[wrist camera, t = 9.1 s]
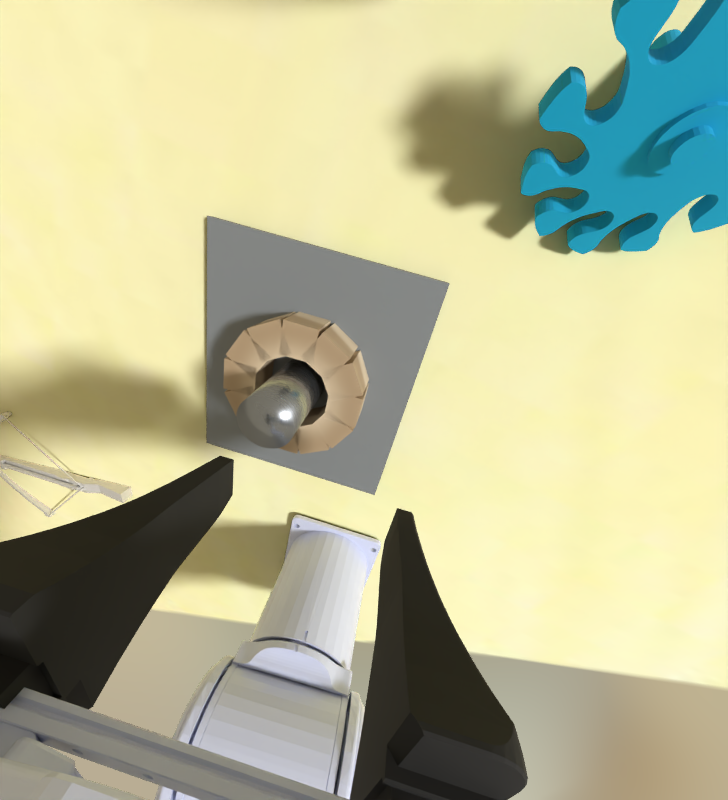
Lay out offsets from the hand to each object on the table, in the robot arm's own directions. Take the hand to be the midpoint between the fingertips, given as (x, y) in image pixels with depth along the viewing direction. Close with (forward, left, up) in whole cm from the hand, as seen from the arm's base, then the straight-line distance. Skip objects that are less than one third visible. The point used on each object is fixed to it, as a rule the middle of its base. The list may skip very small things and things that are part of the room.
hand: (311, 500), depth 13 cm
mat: (+1, +4, -9) cm, 10 cm away
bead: (+1, +4, -9) cm, 10 cm away
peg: (+1, +4, -9) cm, 10 cm away
